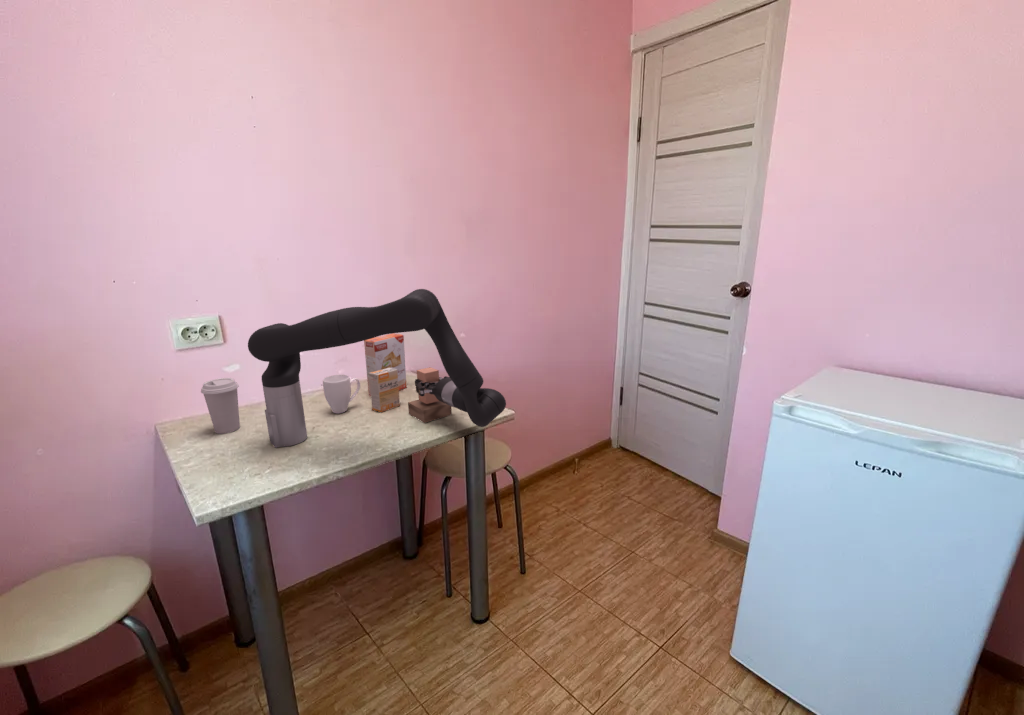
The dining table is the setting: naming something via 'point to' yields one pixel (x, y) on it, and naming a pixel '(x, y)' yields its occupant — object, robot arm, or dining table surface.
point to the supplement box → (384, 389)
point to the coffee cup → (222, 404)
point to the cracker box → (386, 356)
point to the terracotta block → (425, 376)
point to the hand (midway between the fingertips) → (424, 380)
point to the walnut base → (429, 410)
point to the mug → (339, 392)
